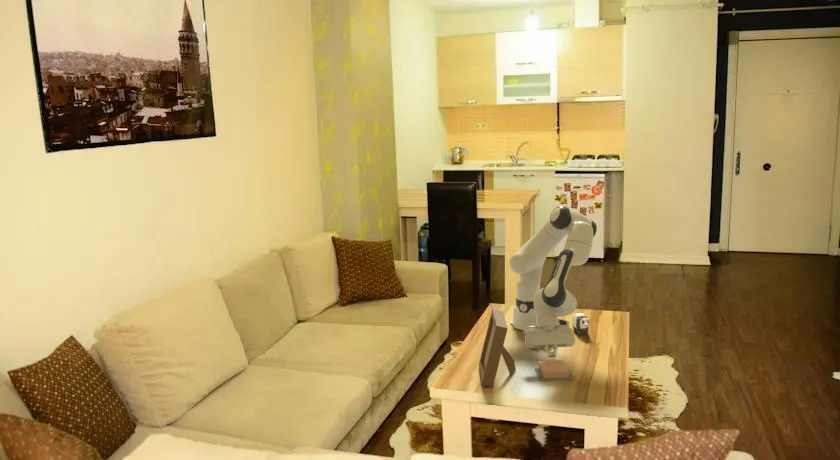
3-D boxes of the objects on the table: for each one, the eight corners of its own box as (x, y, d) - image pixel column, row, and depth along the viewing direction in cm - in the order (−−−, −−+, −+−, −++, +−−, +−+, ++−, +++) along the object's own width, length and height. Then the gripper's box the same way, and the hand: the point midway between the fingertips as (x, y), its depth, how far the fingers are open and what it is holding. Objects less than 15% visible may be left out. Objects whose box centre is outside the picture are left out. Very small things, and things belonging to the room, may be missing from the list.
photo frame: (481, 387, 268) (481, 325, 263) (478, 366, 289) (478, 308, 284) (520, 387, 267) (520, 325, 262) (514, 366, 288) (514, 308, 284)
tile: (562, 360, 285) (568, 371, 273) (562, 366, 285) (568, 377, 273) (537, 361, 284) (543, 372, 273) (537, 367, 285) (543, 378, 273)
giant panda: (571, 329, 331) (571, 309, 329) (582, 328, 331) (583, 309, 330) (580, 339, 317) (581, 319, 315) (592, 338, 317) (593, 318, 315)
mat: (534, 369, 284) (534, 368, 284) (566, 368, 284) (566, 367, 284) (540, 380, 272) (540, 379, 272) (573, 379, 272) (573, 378, 272)
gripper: (523, 323, 285) (527, 354, 277) (572, 321, 285) (578, 352, 277) (521, 330, 290) (525, 360, 282) (570, 328, 290) (575, 358, 282)
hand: (552, 356), depth 280 cm, fingers closed
